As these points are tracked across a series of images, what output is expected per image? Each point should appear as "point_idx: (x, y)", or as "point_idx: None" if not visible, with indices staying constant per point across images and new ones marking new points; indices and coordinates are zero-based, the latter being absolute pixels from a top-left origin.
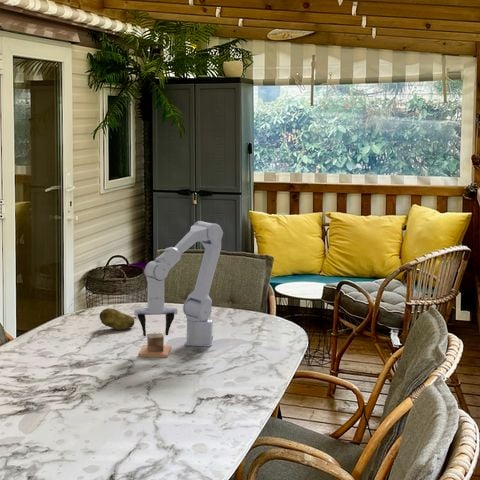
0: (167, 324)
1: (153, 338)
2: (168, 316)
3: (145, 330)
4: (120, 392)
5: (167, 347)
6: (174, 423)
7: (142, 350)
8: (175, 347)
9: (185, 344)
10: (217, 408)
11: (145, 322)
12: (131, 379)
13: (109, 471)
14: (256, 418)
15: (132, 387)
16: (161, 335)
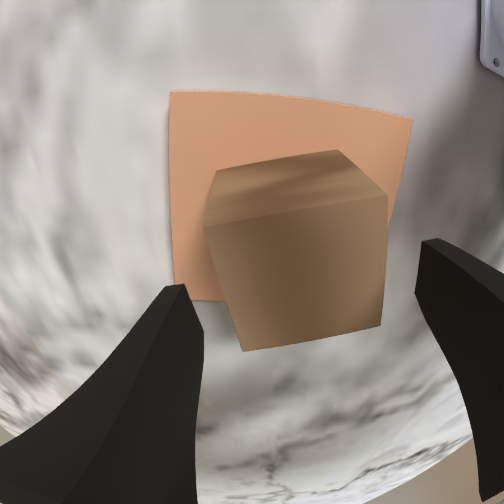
0: (468, 403)
1: (285, 340)
2: (494, 495)
3: (198, 395)
4: (211, 477)
5: (381, 157)
6: (309, 500)
7: (189, 240)
8: (427, 86)
9: (488, 67)
10: (381, 477)
11: (196, 496)
12: (218, 450)
13: None
14: (415, 474)
15: (231, 468)
16: (372, 274)
